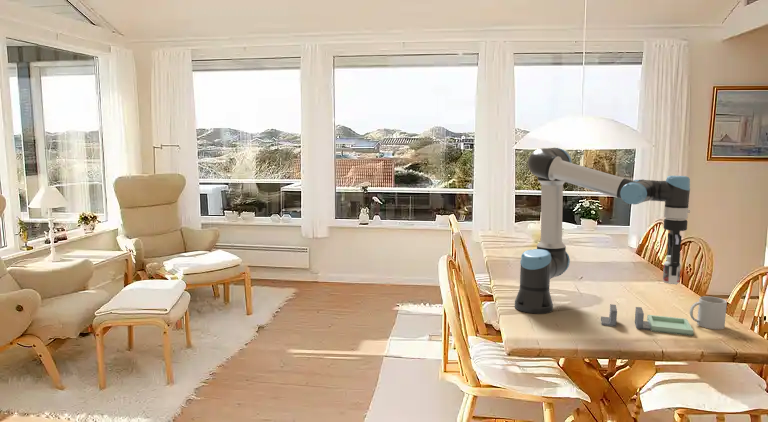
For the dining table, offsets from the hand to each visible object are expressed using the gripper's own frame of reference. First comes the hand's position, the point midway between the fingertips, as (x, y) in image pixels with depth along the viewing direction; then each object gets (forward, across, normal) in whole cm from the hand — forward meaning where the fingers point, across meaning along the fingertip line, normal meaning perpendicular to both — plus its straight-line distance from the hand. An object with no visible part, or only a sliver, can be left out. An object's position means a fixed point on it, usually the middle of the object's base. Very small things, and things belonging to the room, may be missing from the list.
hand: (671, 281), depth 203 cm
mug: (+18, +9, -14) cm, 24 cm away
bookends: (+17, -2, +15) cm, 23 cm away
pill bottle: (+1, 0, 0) cm, 1 cm away
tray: (+17, 0, 0) cm, 17 cm away
